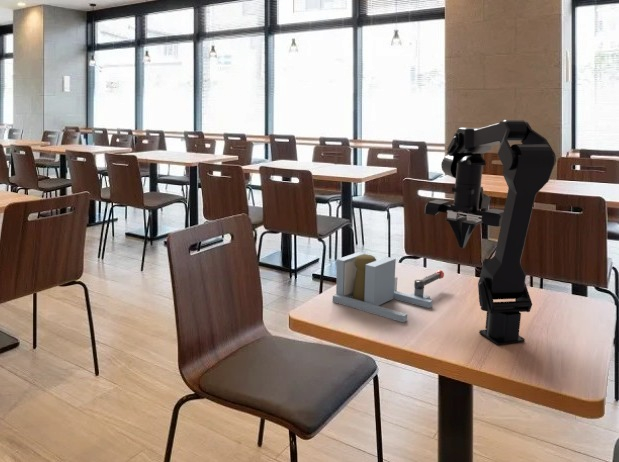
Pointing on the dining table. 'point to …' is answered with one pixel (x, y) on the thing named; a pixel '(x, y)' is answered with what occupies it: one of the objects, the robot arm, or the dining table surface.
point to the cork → (361, 276)
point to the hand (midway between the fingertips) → (462, 247)
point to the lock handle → (428, 279)
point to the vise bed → (345, 291)
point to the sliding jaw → (380, 281)
